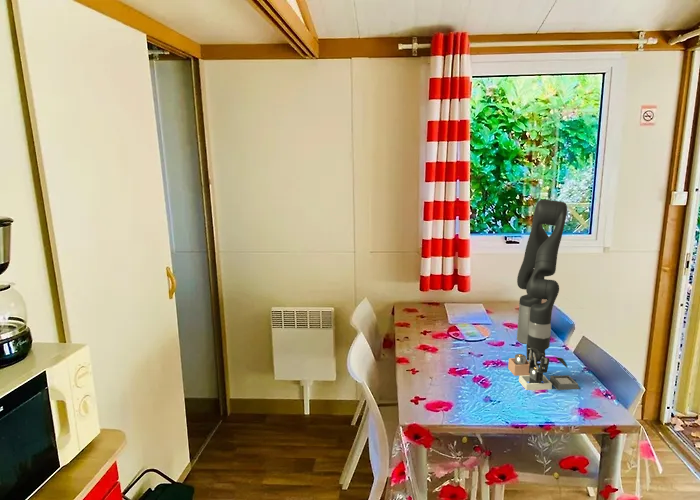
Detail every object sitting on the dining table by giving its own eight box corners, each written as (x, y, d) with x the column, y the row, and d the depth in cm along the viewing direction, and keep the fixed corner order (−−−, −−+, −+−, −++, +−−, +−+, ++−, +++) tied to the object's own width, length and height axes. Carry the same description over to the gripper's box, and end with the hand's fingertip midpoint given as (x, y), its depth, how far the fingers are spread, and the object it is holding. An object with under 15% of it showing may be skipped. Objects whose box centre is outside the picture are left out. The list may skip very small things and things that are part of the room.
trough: (518, 383, 182) (519, 375, 181) (542, 382, 182) (543, 374, 182) (526, 392, 175) (526, 384, 174) (551, 391, 176) (552, 383, 175)
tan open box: (508, 370, 192) (508, 358, 191) (523, 369, 193) (524, 357, 192) (514, 377, 186) (515, 365, 185) (530, 377, 186) (531, 364, 185)
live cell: (527, 383, 180) (528, 365, 179) (537, 382, 180) (539, 365, 179) (531, 388, 176) (533, 370, 175) (542, 387, 177) (544, 370, 175)
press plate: (554, 380, 180) (554, 378, 180) (566, 380, 181) (567, 377, 181) (560, 386, 176) (560, 383, 176) (573, 386, 176) (573, 383, 176)
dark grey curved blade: (562, 357, 202) (569, 373, 187) (562, 360, 202) (569, 376, 187) (542, 356, 203) (547, 371, 189) (542, 358, 204) (547, 374, 189)
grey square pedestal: (548, 382, 182) (548, 375, 181) (569, 382, 182) (569, 375, 182) (557, 391, 175) (557, 384, 174) (579, 391, 175) (579, 384, 175)
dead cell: (512, 369, 191) (513, 352, 189) (522, 369, 191) (523, 352, 190) (516, 374, 187) (517, 357, 186) (526, 373, 187) (527, 356, 186)
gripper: (520, 326, 181) (517, 369, 185) (537, 341, 167) (533, 387, 171) (540, 326, 182) (537, 368, 185) (558, 341, 168) (554, 386, 171)
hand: (535, 377), depth 178 cm, fingers open, 5 cm apart
